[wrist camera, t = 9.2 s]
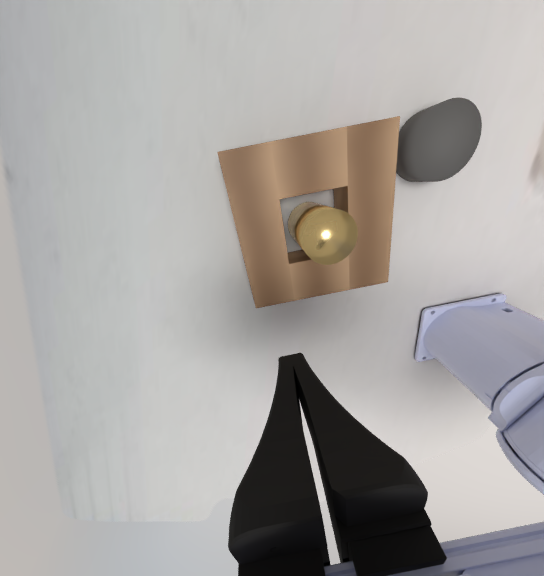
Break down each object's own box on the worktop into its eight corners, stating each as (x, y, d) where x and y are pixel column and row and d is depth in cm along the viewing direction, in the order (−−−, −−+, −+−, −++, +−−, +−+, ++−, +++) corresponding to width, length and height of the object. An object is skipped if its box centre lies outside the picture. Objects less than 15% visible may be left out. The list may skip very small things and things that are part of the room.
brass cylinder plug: (325, 197, 19) (356, 202, 13) (329, 238, 20) (358, 257, 15) (284, 207, 19) (299, 217, 13) (291, 247, 20) (307, 270, 15)
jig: (375, 127, 17) (400, 116, 14) (371, 269, 22) (388, 281, 19) (222, 157, 17) (217, 151, 14) (255, 292, 22) (255, 308, 19)
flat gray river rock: (457, 102, 17) (489, 90, 14) (446, 174, 19) (472, 173, 17) (393, 116, 17) (415, 106, 14) (389, 187, 19) (408, 187, 17)
